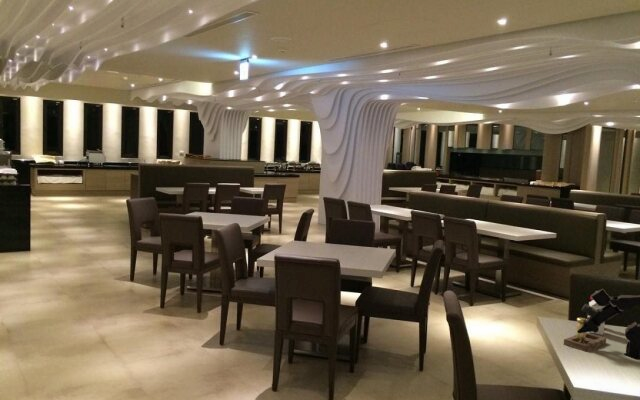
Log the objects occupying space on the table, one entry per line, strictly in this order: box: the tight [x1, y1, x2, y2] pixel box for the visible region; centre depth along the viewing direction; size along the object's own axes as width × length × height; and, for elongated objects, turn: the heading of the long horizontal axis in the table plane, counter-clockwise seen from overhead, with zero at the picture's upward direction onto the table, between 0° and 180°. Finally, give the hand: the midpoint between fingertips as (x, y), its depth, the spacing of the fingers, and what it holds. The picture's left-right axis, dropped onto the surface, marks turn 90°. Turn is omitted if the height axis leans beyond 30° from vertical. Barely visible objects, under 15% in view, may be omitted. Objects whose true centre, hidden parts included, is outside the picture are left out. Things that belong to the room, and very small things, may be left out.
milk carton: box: [588, 300, 606, 335], centre depth 290 cm, size 7×7×19 cm
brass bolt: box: [575, 317, 588, 344], centre depth 267 cm, size 5×5×14 cm
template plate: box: [563, 332, 607, 352], centre depth 270 cm, size 22×11×2 cm, turn 129°
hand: (578, 331), depth 267 cm, fingers closed on brass bolt, 4 cm apart
